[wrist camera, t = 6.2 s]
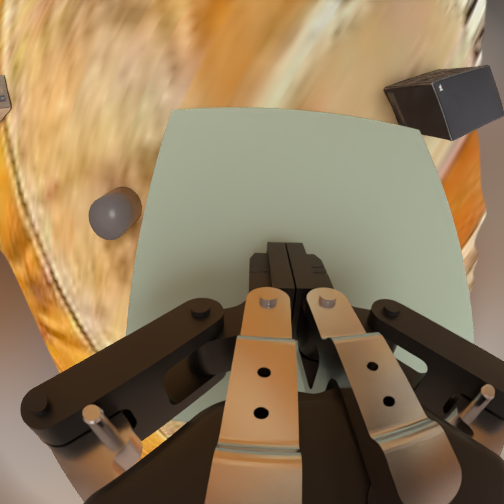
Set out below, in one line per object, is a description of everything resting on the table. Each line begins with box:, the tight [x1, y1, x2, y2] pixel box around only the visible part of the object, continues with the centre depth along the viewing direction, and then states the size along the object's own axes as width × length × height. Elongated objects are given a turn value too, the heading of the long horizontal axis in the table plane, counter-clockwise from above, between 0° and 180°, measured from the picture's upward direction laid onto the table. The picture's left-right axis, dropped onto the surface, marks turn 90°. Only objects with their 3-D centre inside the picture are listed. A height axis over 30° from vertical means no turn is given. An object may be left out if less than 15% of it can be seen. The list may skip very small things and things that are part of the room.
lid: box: [126, 107, 474, 422], centre depth 14 cm, size 18×18×1 cm
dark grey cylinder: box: [89, 187, 142, 240], centre depth 31 cm, size 5×5×5 cm
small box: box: [384, 65, 504, 141], centre depth 22 cm, size 11×6×10 cm, turn 119°
